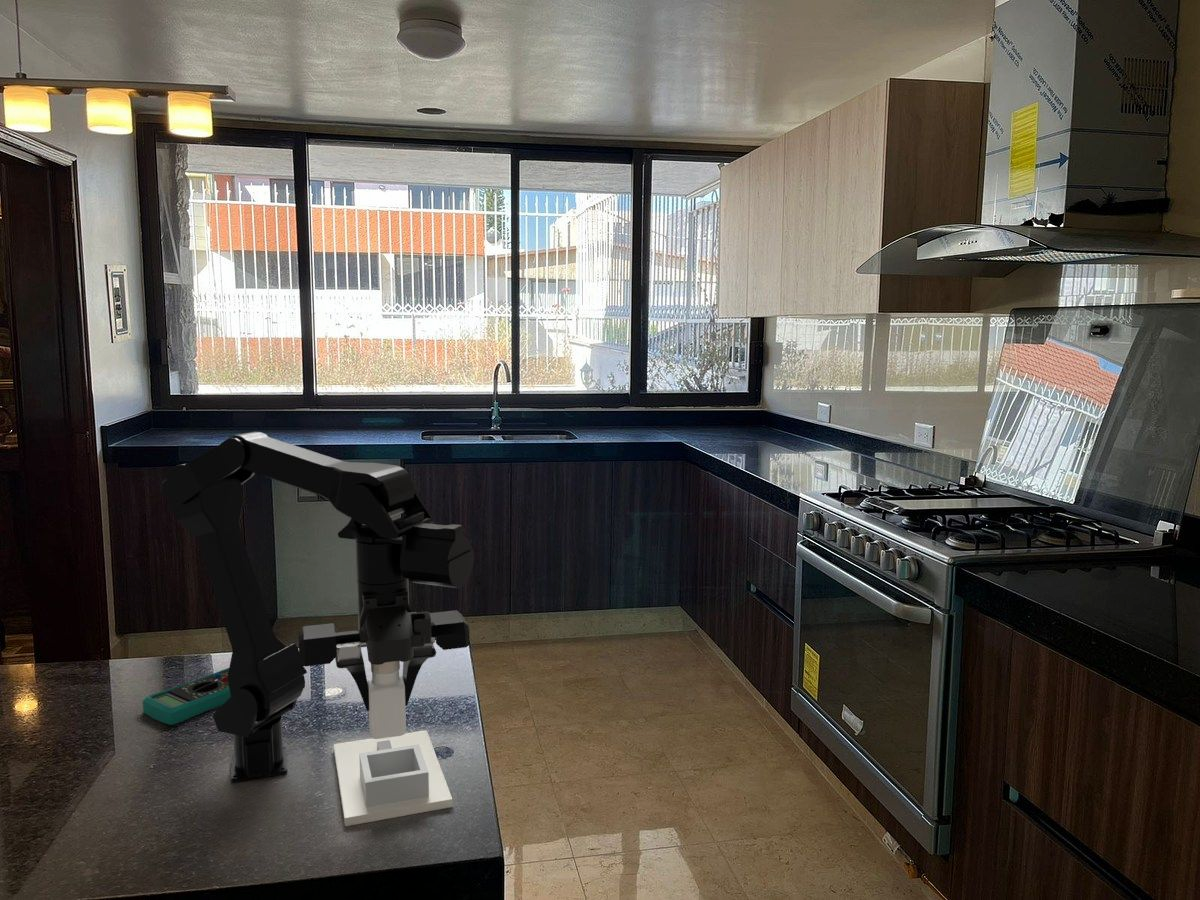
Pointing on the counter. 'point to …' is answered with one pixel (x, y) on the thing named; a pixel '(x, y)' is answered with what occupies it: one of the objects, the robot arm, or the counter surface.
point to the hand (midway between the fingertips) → (386, 707)
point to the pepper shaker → (386, 701)
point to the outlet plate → (389, 778)
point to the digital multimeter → (188, 699)
